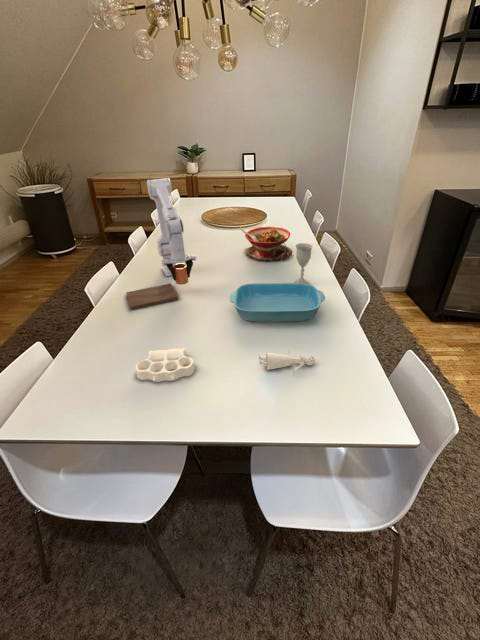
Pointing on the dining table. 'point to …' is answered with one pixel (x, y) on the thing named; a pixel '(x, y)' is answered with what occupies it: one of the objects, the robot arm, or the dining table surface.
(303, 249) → the chalice
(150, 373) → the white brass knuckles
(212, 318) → the dining table surface
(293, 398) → the dining table surface
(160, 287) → the serving board
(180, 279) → the tumbler
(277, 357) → the woman figurine
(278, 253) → the stew
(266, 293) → the casserole dish
